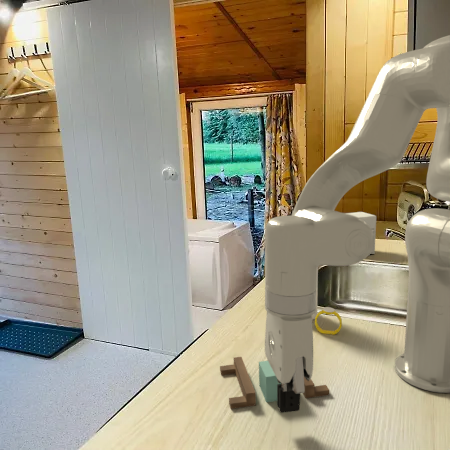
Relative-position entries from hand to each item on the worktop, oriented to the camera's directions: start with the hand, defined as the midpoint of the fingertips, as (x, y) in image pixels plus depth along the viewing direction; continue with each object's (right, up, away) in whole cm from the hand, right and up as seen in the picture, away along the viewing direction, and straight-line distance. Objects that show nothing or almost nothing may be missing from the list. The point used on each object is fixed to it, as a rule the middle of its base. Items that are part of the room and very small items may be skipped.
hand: (288, 408), depth 66 cm
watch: (+14, +4, +31) cm, 34 cm away
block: (-1, -1, +10) cm, 10 cm away
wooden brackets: (-1, -1, +13) cm, 13 cm away
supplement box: (+40, +18, +91) cm, 101 cm away
